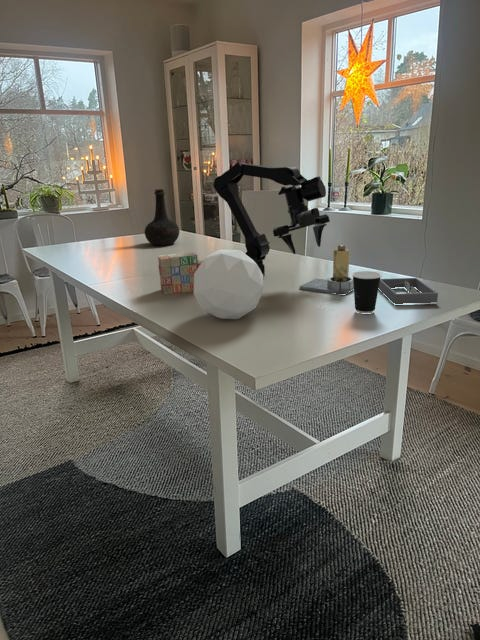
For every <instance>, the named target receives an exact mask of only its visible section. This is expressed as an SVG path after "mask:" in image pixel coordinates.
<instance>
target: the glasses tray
mask: <svg viewBox="0 0 480 640" xmlns="http://www.w3.org/2000/svg"><path fill="white" fill-rule="evenodd" d="M405 281H407V282H408V283H409V285H410V287H411V286H413V287H416V288H417V289H418V290H419V291H421V292H422V293H419V292H417V293H411V292H410V293H407V292H405V293H397V292H396V291H394V289H391V288H395V287H405V283H401V282H405ZM397 283H399V284H397ZM392 284H394V285H392ZM388 285H389V286H388ZM379 289H380V290H381V291H382V292H383V293H384V294H385V295H386V296H387V297H388V298H389V299H390V300H391V301H392V302H393V303H395V304H403V303H431V302H437V303H438V299H439V297H438V296H439V293H438V291H436V290H435V289H433V288H432V287H430V286H429V285H427V284H426V283H425V282H423V281H421V280H420V279H419V278H417V277H403V278H401V277H400V278H399V277H398V278H380V283H379Z"/></svg>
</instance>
